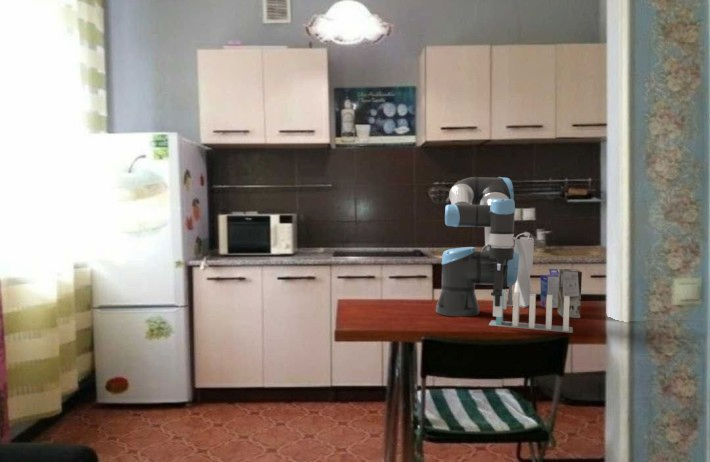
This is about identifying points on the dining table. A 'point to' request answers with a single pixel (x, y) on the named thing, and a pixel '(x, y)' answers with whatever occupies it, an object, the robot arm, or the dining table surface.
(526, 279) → the skyscraper
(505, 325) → the gray flat rectangular plate
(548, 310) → the domino
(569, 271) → the coffee box
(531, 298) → the domino
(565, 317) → the domino
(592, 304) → the dining table surface
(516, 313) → the domino
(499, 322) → the teal domino
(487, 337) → the dining table surface
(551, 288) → the ink cartridge box
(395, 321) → the dining table surface
